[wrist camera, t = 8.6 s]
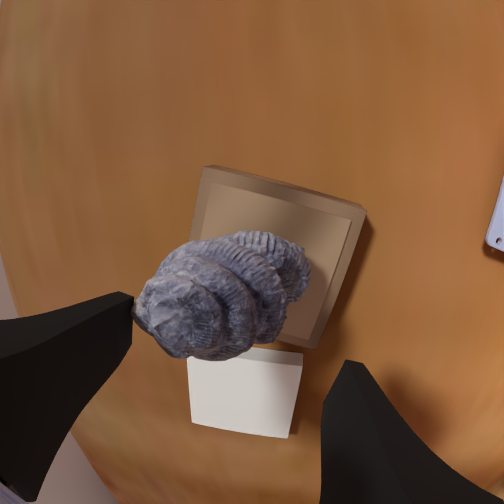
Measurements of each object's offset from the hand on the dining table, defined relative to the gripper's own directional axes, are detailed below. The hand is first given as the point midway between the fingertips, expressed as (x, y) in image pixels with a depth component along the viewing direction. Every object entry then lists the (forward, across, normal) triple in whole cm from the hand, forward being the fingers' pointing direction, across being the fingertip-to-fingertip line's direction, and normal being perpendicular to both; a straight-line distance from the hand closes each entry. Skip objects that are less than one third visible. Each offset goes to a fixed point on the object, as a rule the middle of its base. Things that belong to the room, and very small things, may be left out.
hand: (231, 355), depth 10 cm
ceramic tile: (+10, -1, +11) cm, 15 cm away
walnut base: (+10, 0, 0) cm, 10 cm away
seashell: (+8, 0, 0) cm, 8 cm away
